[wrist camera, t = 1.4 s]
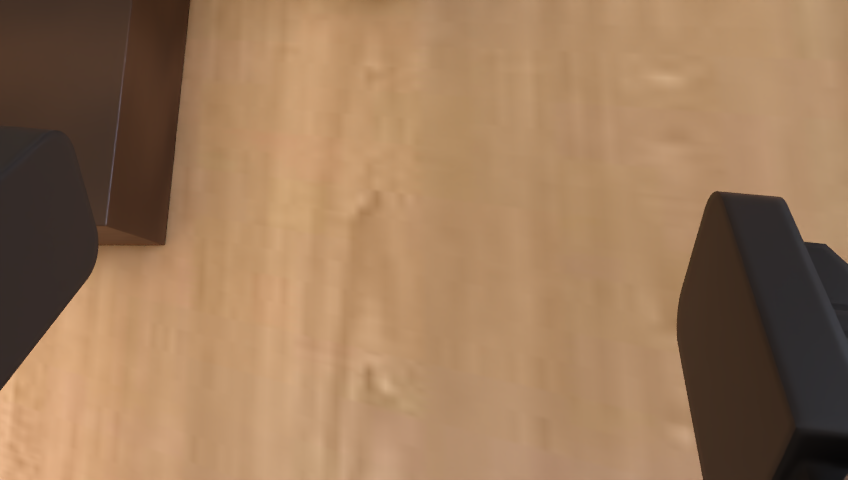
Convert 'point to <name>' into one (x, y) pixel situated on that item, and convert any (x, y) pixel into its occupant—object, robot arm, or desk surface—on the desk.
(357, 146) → the desk surface
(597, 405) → the desk surface
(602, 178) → the desk surface
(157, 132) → the walnut stand
